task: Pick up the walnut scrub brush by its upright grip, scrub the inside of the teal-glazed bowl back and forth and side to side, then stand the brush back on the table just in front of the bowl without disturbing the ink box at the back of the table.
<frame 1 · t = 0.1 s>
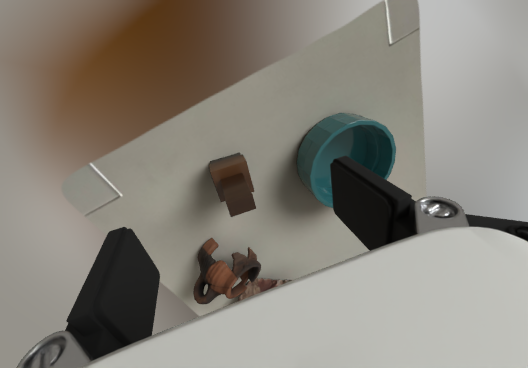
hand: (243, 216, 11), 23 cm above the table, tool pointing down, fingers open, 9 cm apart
pottery mug: (221, 257, 42), on the table
mineral specimen: (268, 294, 50), on the table
bowl: (334, 155, 39), on the table
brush: (229, 170, 35), on the table
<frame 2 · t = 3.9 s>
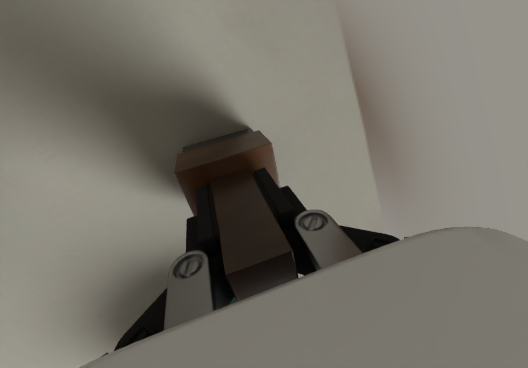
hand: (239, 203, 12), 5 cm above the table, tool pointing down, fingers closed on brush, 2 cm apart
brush: (227, 168, 16), on the table, touching gripper
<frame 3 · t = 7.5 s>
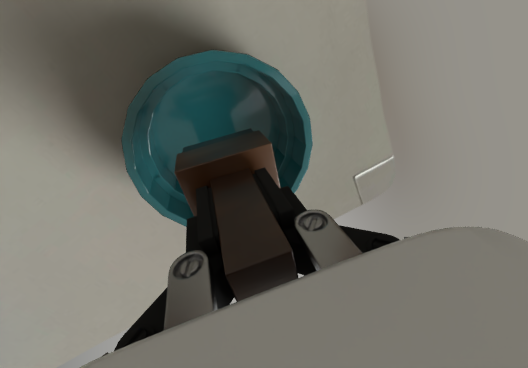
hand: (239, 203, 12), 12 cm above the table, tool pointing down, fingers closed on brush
bowl: (219, 135, 22), on the table
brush: (227, 168, 16), point 7 cm above the table, touching gripper
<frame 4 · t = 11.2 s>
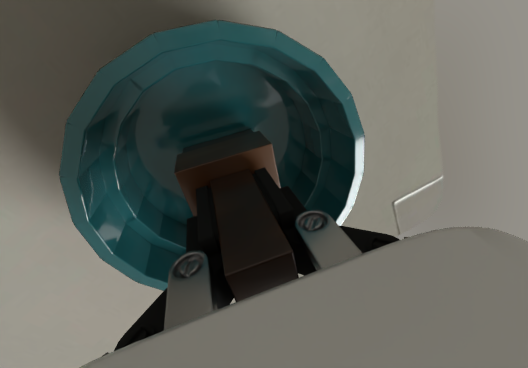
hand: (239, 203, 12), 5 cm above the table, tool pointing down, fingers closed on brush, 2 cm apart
bowl: (223, 155, 16), on the table
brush: (227, 169, 16), point 1 cm above the table, touching gripper
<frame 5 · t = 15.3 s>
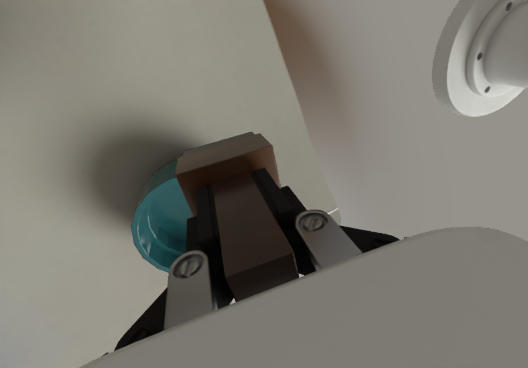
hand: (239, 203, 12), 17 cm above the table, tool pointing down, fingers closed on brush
bowl: (200, 204, 31), on the table
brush: (228, 171, 16), point 13 cm above the table, touching gripper
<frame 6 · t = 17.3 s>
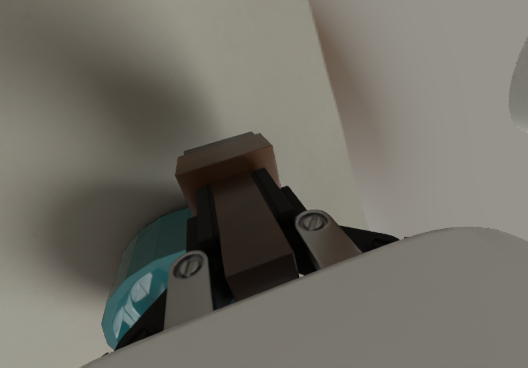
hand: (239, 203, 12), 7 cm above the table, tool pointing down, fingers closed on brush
bowl: (204, 263, 23), on the table
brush: (228, 171, 16), point 3 cm above the table, touching gripper
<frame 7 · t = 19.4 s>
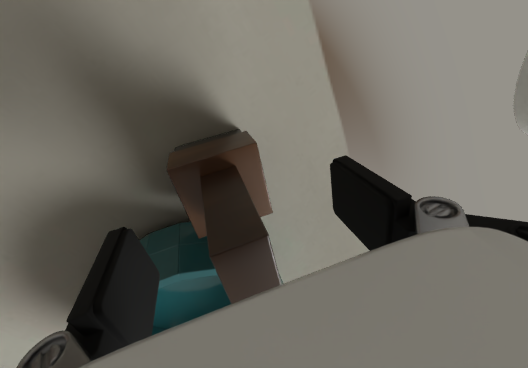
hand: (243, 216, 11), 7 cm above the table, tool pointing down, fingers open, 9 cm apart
bowl: (197, 280, 21), on the table
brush: (217, 166, 17), on the table
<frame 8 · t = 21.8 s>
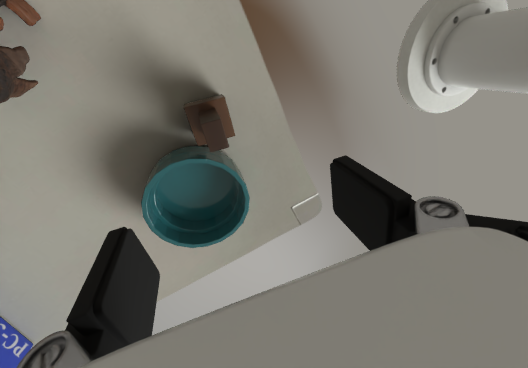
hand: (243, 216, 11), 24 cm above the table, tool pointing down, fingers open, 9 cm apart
bowl: (197, 188, 36), on the table
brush: (208, 115, 32), on the table
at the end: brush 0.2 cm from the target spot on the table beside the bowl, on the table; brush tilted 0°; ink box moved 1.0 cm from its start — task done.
